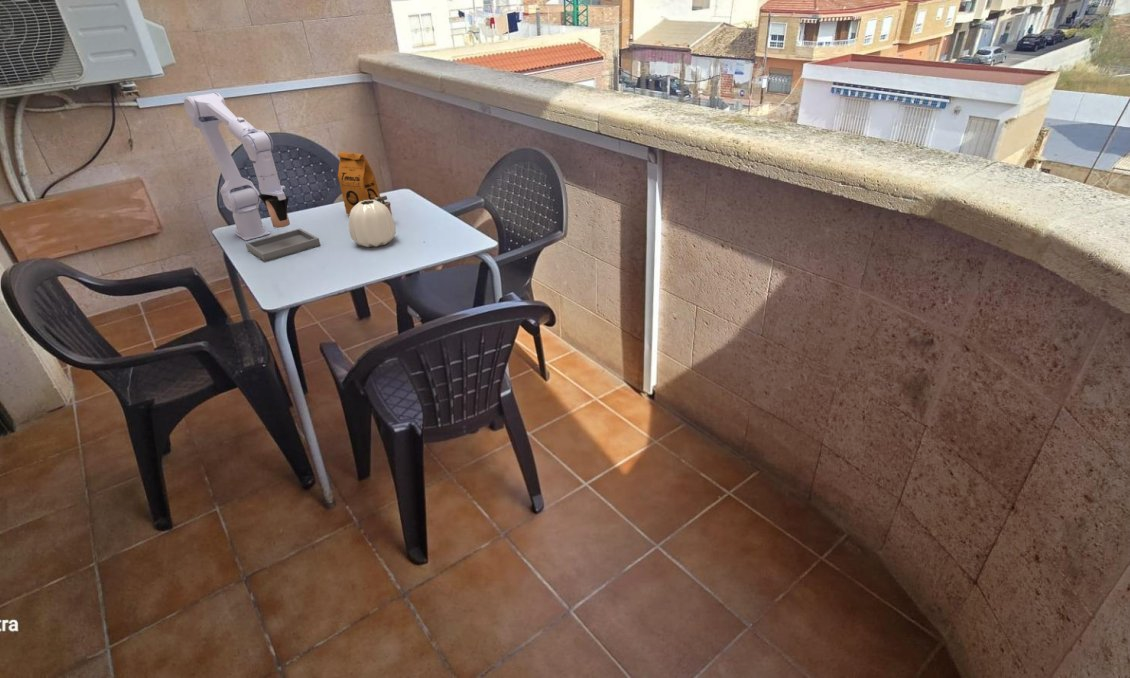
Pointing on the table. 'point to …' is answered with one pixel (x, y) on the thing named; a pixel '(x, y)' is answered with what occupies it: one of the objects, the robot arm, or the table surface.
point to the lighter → (384, 202)
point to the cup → (274, 218)
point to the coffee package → (356, 180)
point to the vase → (371, 224)
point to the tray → (282, 244)
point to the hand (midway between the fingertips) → (279, 218)
